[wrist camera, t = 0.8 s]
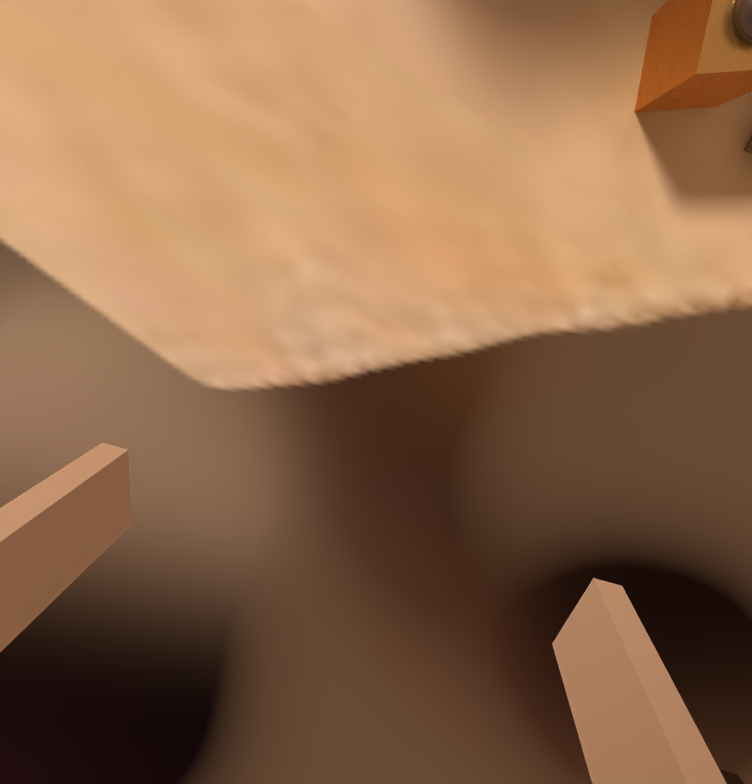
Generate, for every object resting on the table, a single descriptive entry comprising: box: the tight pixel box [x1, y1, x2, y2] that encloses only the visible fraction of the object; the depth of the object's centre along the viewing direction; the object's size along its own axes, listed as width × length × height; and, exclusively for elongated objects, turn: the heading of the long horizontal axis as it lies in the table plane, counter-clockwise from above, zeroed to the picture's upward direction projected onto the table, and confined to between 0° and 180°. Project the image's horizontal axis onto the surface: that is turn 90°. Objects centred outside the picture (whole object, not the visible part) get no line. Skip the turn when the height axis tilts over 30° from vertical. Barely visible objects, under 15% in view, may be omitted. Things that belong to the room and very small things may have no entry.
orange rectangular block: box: [635, 0, 752, 112], centre depth 21 cm, size 5×5×7 cm
